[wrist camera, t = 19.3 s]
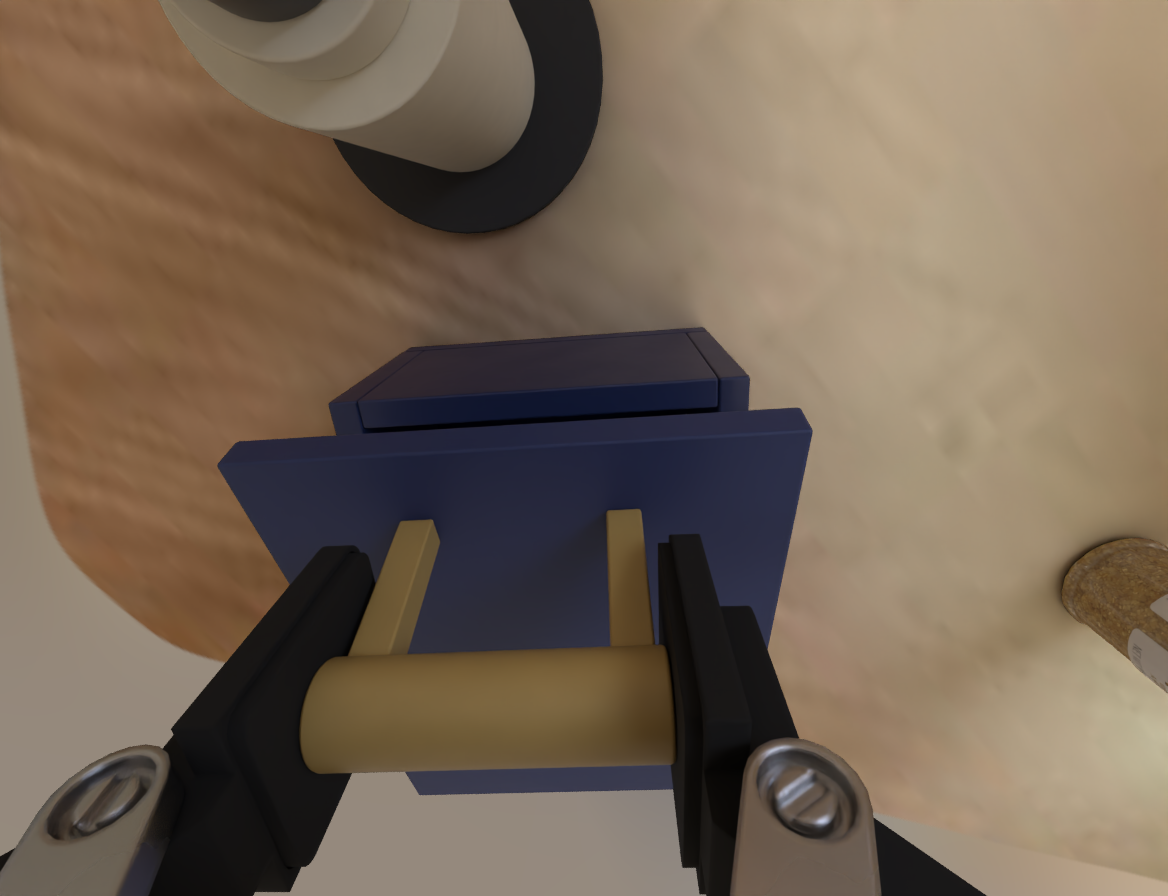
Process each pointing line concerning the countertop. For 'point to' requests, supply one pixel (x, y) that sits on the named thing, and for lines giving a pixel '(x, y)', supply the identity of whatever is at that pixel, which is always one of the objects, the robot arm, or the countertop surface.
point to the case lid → (521, 585)
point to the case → (545, 382)
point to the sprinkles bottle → (1125, 601)
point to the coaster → (539, 158)
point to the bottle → (373, 71)
